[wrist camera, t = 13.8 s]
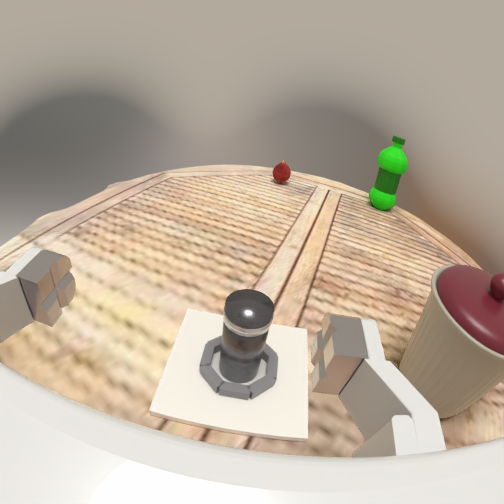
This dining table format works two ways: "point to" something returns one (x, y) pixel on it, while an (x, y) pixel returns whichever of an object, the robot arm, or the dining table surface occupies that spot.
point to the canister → (458, 339)
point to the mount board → (233, 394)
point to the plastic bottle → (389, 175)
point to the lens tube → (244, 334)
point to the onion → (281, 172)
